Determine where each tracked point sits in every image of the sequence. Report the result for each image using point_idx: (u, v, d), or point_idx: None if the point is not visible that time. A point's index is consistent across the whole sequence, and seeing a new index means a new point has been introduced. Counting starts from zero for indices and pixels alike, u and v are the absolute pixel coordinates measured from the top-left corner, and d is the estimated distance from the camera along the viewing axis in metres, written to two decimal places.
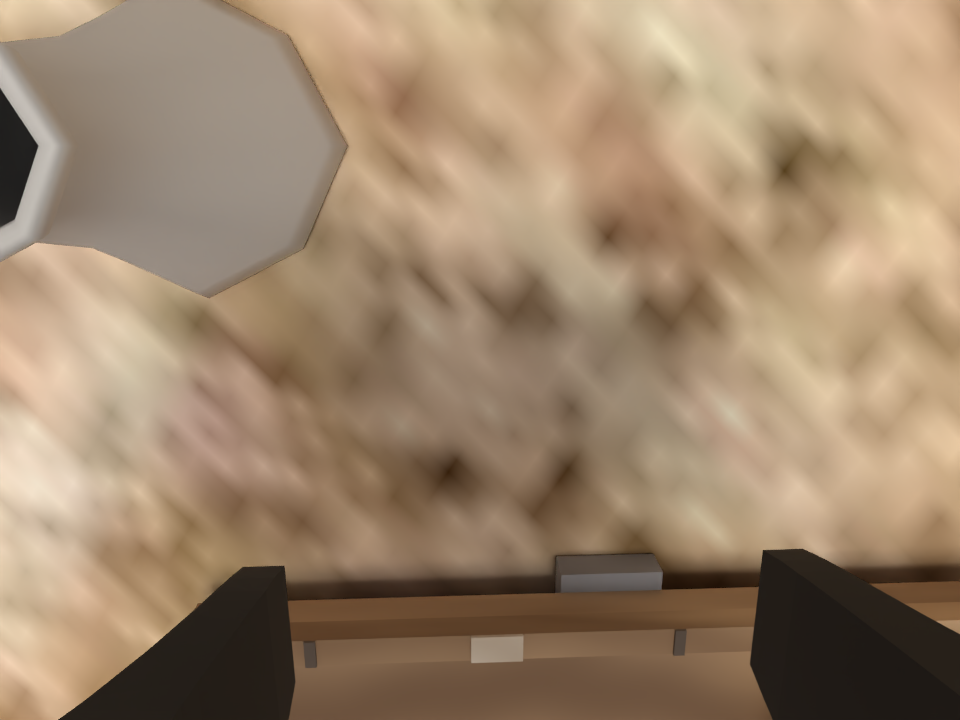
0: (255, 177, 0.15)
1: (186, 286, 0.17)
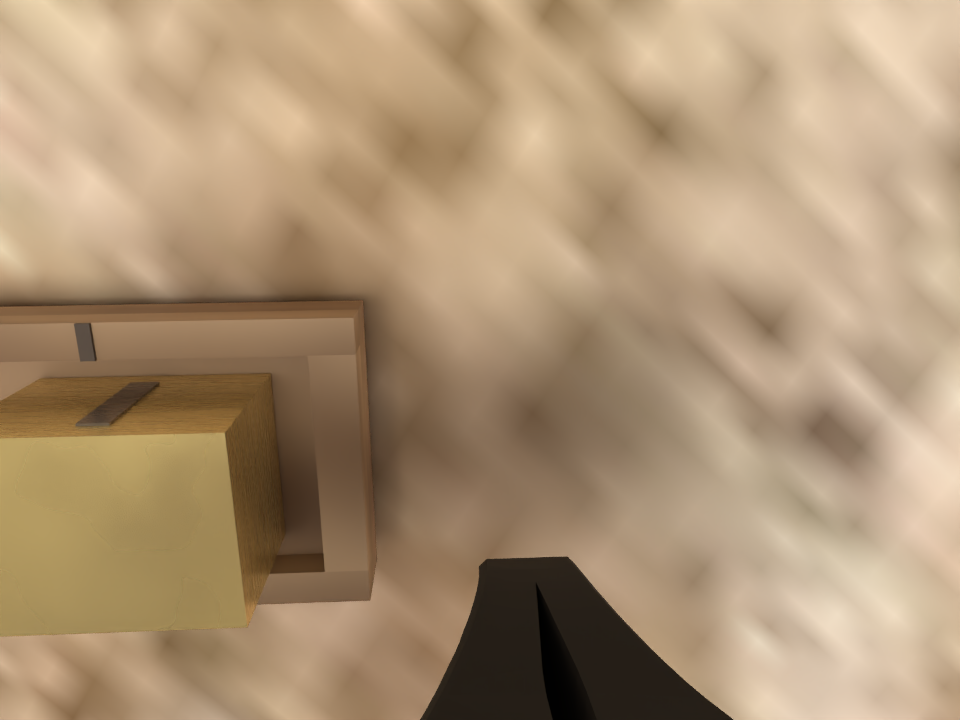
0: None
1: None
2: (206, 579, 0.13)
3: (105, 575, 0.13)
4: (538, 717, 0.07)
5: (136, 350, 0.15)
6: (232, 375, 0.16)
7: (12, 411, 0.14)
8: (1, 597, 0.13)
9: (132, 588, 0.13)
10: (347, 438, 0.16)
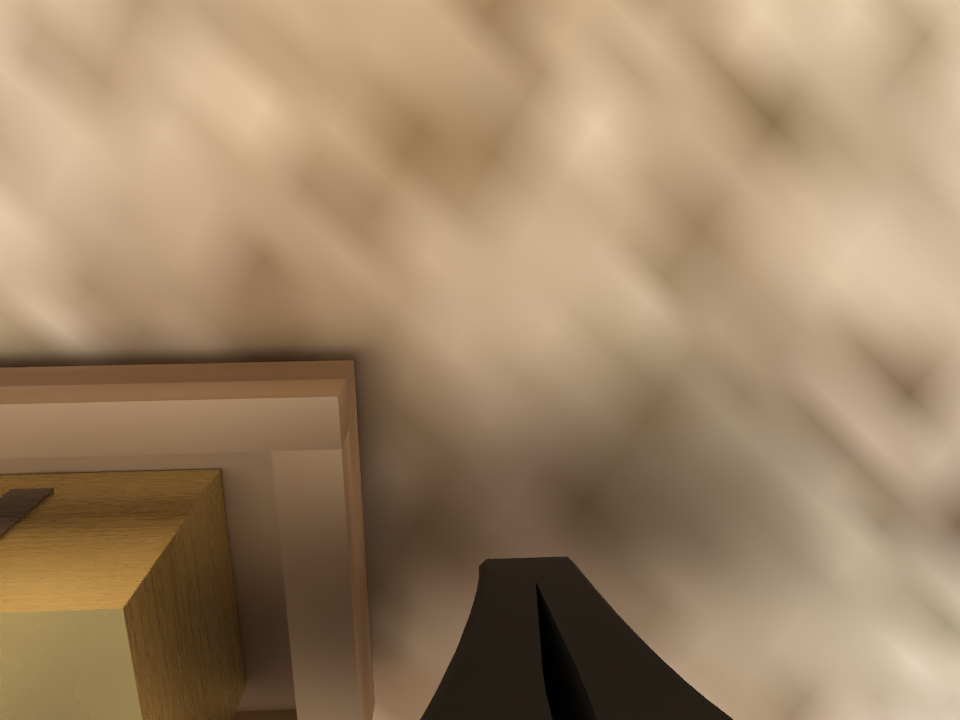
0: None
1: None
2: None
3: None
4: (538, 717, 0.07)
5: (15, 445, 0.10)
6: (164, 473, 0.11)
7: None
8: None
9: None
10: (330, 566, 0.11)
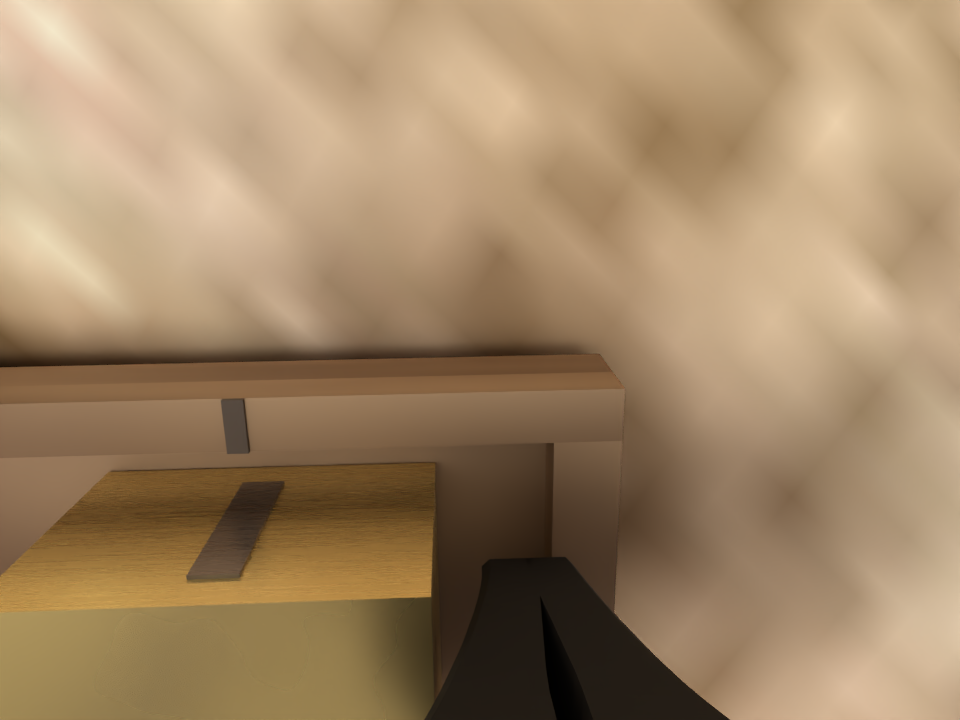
0: None
1: None
2: None
3: None
4: (542, 717, 0.07)
5: (308, 437, 0.10)
6: (382, 466, 0.11)
7: (80, 541, 0.09)
8: None
9: None
10: (598, 556, 0.11)
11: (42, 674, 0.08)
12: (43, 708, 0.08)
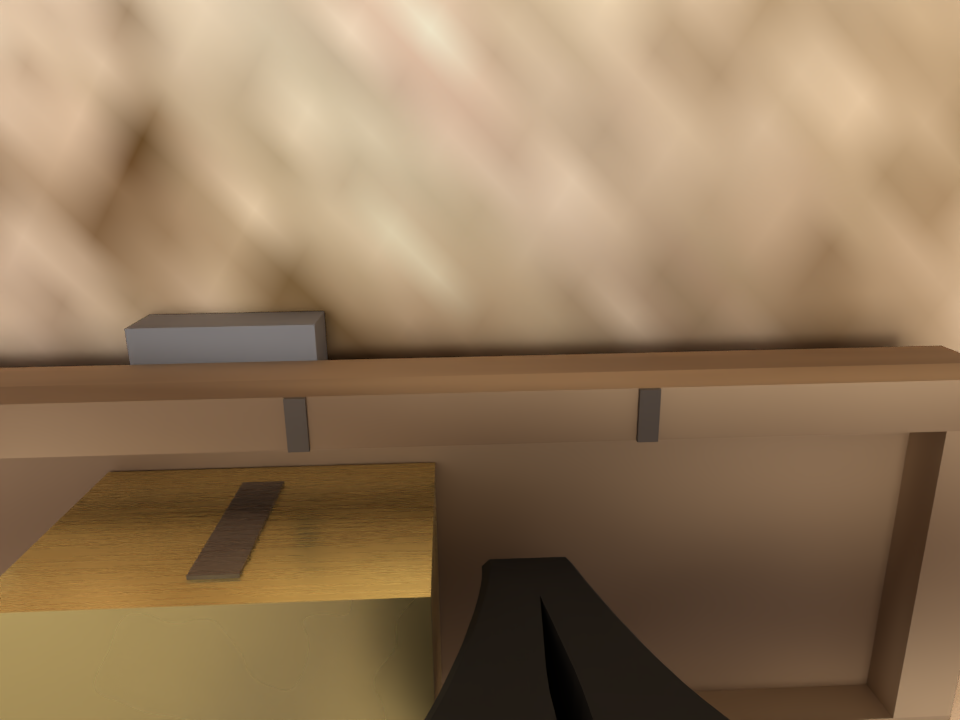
0: None
1: None
2: None
3: None
4: (542, 717, 0.07)
5: (714, 425, 0.10)
6: (382, 466, 0.11)
7: (80, 542, 0.09)
8: None
9: None
10: None
11: (41, 674, 0.08)
12: (43, 708, 0.08)
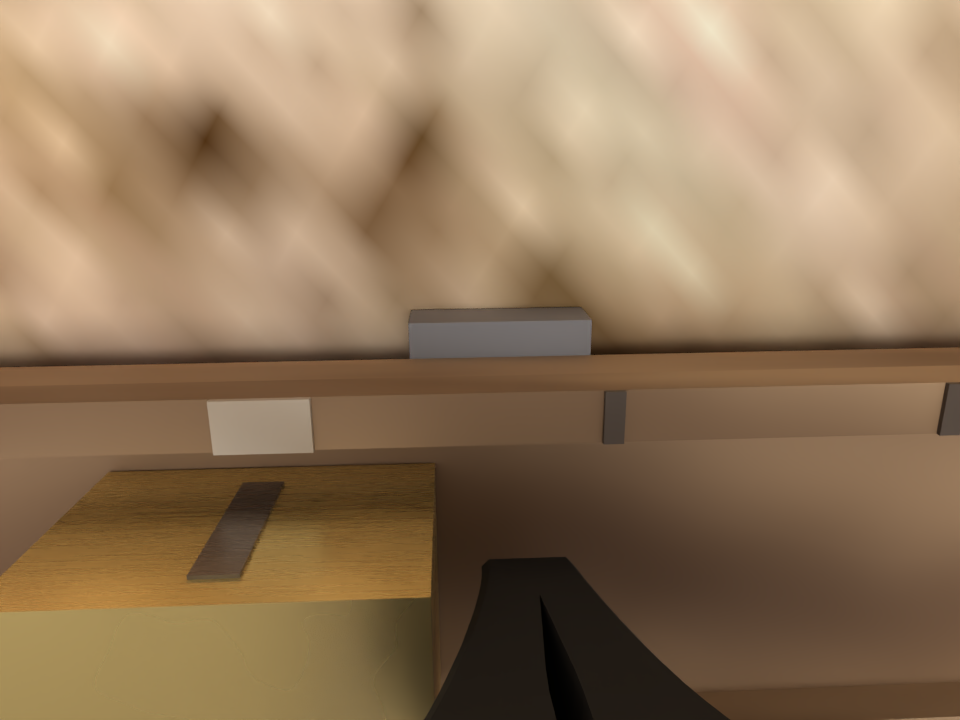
0: None
1: None
2: None
3: None
4: (542, 717, 0.07)
5: None
6: (382, 467, 0.11)
7: (80, 541, 0.09)
8: None
9: None
10: None
11: (42, 674, 0.08)
12: (43, 708, 0.08)
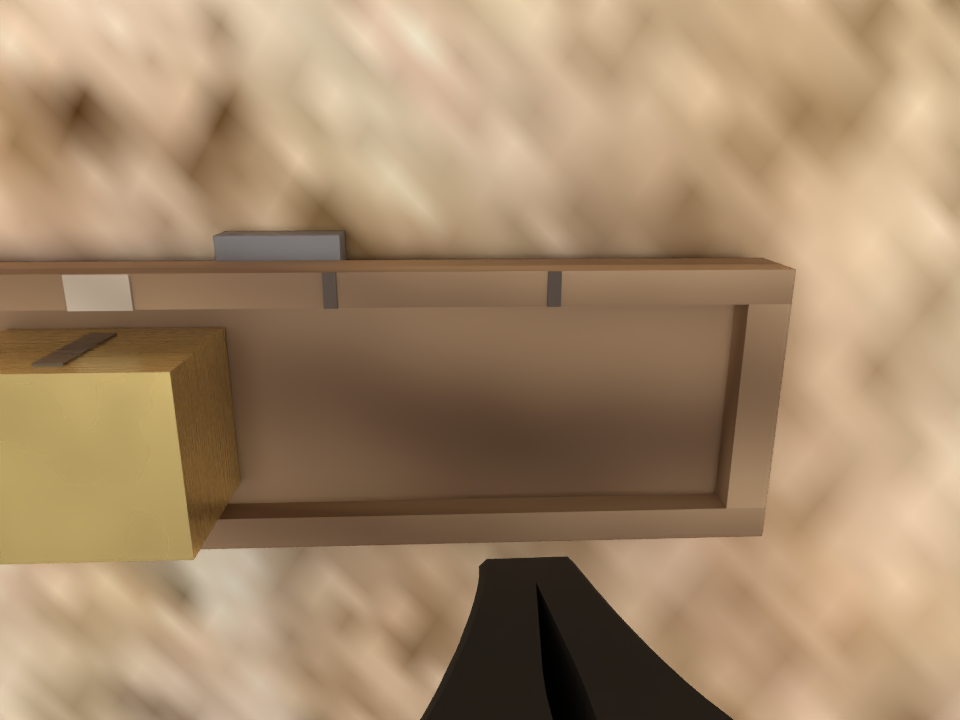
0: None
1: None
2: (154, 513, 0.14)
3: (58, 508, 0.14)
4: (538, 717, 0.07)
5: (597, 297, 0.16)
6: (188, 328, 0.17)
7: None
8: None
9: (84, 520, 0.14)
10: (769, 382, 0.17)
11: None
12: None
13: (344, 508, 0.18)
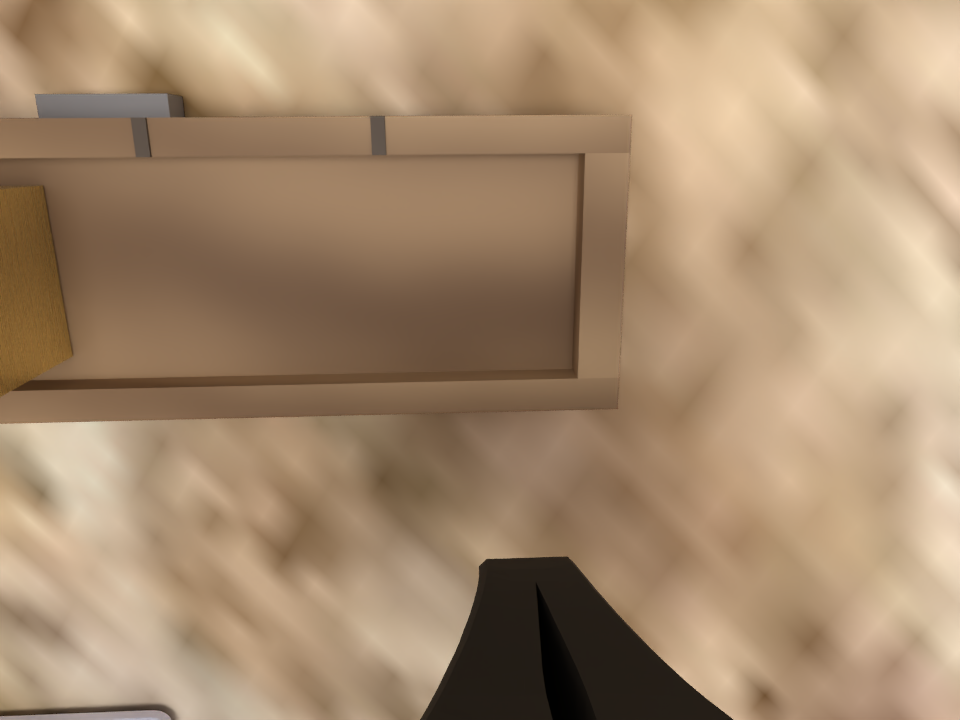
0: None
1: None
2: None
3: None
4: (538, 717, 0.07)
5: (424, 145, 0.16)
6: (3, 186, 0.16)
7: None
8: None
9: None
10: (613, 240, 0.16)
11: None
12: None
13: (180, 381, 0.17)
